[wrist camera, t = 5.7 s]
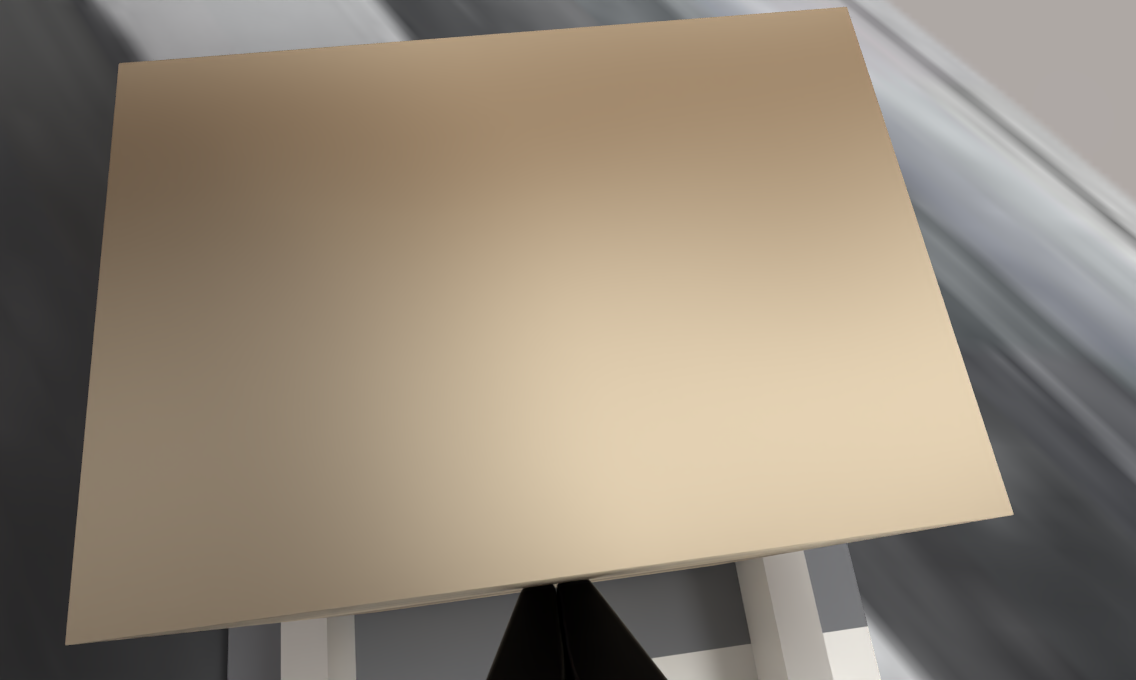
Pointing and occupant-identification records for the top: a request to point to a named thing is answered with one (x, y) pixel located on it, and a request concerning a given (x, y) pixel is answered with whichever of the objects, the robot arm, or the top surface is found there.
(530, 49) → the maple block
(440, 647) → the track
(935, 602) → the top surface
